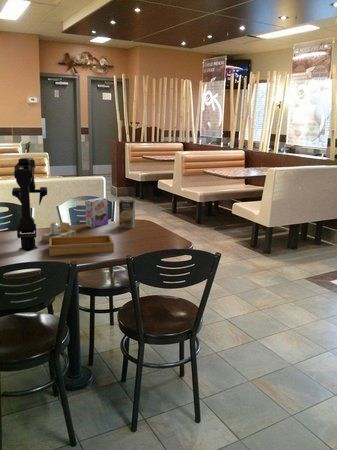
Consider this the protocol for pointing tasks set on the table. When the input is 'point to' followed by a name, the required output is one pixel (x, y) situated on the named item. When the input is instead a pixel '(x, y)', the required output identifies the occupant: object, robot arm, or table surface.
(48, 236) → the socket block
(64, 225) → the drift key
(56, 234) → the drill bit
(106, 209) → the candy box
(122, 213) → the coffee box
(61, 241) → the tray
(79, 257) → the table surface
